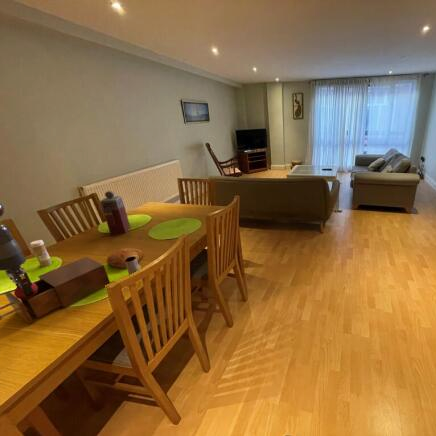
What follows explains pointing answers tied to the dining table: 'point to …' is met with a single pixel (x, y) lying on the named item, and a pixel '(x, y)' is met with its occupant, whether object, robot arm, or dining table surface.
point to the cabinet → (76, 280)
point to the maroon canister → (115, 213)
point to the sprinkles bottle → (41, 253)
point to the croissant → (123, 257)
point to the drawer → (34, 302)
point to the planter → (131, 265)
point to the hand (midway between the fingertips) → (26, 292)
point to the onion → (20, 293)
